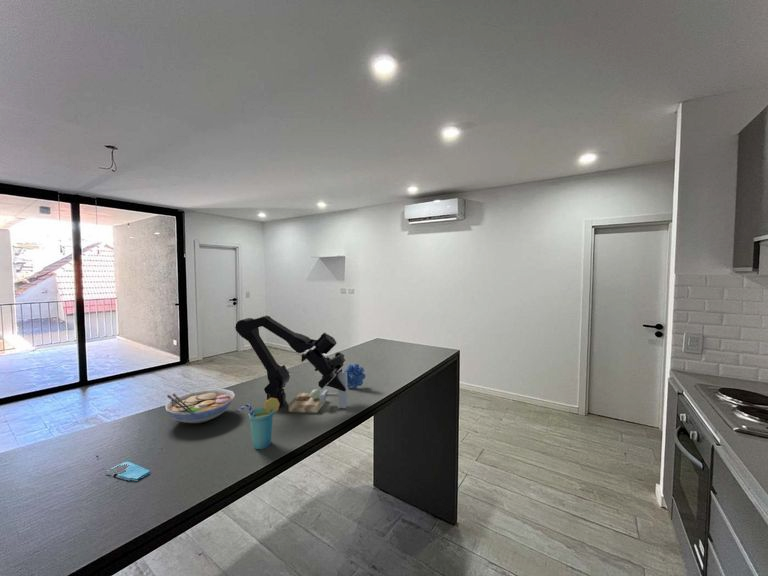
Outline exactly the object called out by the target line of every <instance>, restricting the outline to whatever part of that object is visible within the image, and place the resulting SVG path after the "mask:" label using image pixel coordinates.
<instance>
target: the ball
mask: <svg viewBox="0 0 768 576" xmlns="http://www.w3.org/2000/svg"><path fill="white" fill-rule="evenodd" d="M310 393H311V394H310V395H311V398H312V399H318V398H319V397H320V394H321V391H320V390H319V389H317V388H314V389H312V390H311V392H310Z"/></svg>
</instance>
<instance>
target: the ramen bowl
mask: <svg viewBox="0 0 768 576" xmlns="http://www.w3.org/2000/svg"><path fill="white" fill-rule="evenodd" d="M166 396H167V398H168V399H170V401H168V402H167V403H166V404H165V405H164V406H165V411H166V412H167V414H168V415H169V416H170V417H171V418H173V419H175V420H176V421H179V422H181V423H189V424H202V423H206V422H209V421H211V420H212V419H215V418H218V417H219V416H220V415H222V414H223V413H224V412H226V411H227V409H228V408H229V407H230V406H231V404H232V402H233V400H234V398H235V396H236V394H235V392H234V391H233V390H229V389H223V388H212V389H210V388H209V389H203V390H197V391H193V392H188V393H185V394H182V395H179V396H178V395H176V393H172V396H171V395H170V394H167V395H166Z"/></svg>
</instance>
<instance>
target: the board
mask: <svg viewBox="0 0 768 576" xmlns="http://www.w3.org/2000/svg"><path fill="white" fill-rule="evenodd" d="M310 394H311V392H298V394H297V395H296V396H295V397H294V398H293V399H292V400H291V401H290V402H289V403H287V404H288V406H287V407H288V413H289V412H290V413H306V412H307V413H310V414H317V413H319V411H320V410H321V408H322V407H323V405H324V404H325V403H326V401H327V399H326V400H325V401H320V397H319V398H318V399H312V398H311V395H310ZM320 395H321V393H320Z"/></svg>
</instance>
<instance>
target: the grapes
mask: <svg viewBox="0 0 768 576" xmlns="http://www.w3.org/2000/svg"><path fill="white" fill-rule="evenodd" d="M364 371H365V370H364V367H363V366H360V365H359V364H358V363H354V364H349V365H348V366H347V369H345V370H344V371H343V372H347V385H348V387H347V388H352V389H354V390H355V389H357V388H358V387H361V386H362V385H363V384H364V379H366V374H365V373H364Z"/></svg>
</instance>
